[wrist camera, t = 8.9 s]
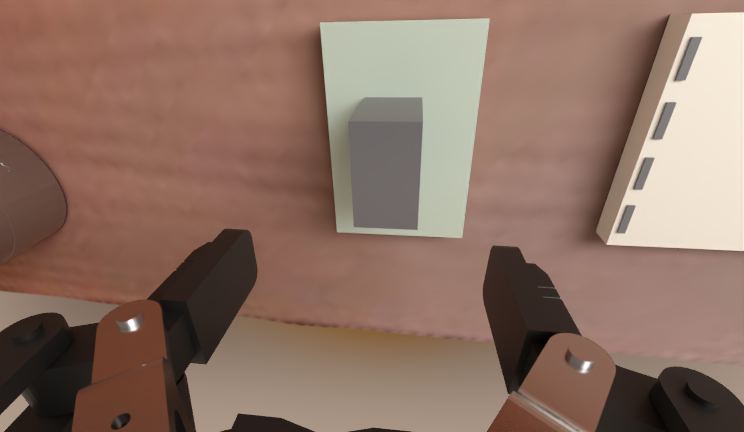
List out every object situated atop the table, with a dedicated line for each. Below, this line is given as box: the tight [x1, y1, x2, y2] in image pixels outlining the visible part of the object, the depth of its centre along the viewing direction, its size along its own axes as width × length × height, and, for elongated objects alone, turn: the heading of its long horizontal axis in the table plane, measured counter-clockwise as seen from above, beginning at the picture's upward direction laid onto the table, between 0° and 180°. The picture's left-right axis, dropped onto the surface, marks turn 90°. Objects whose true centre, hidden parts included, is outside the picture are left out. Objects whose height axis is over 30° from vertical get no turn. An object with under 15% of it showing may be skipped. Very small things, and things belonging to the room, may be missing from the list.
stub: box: [320, 18, 490, 238], centre depth 18 cm, size 8×12×6 cm, turn 1°
